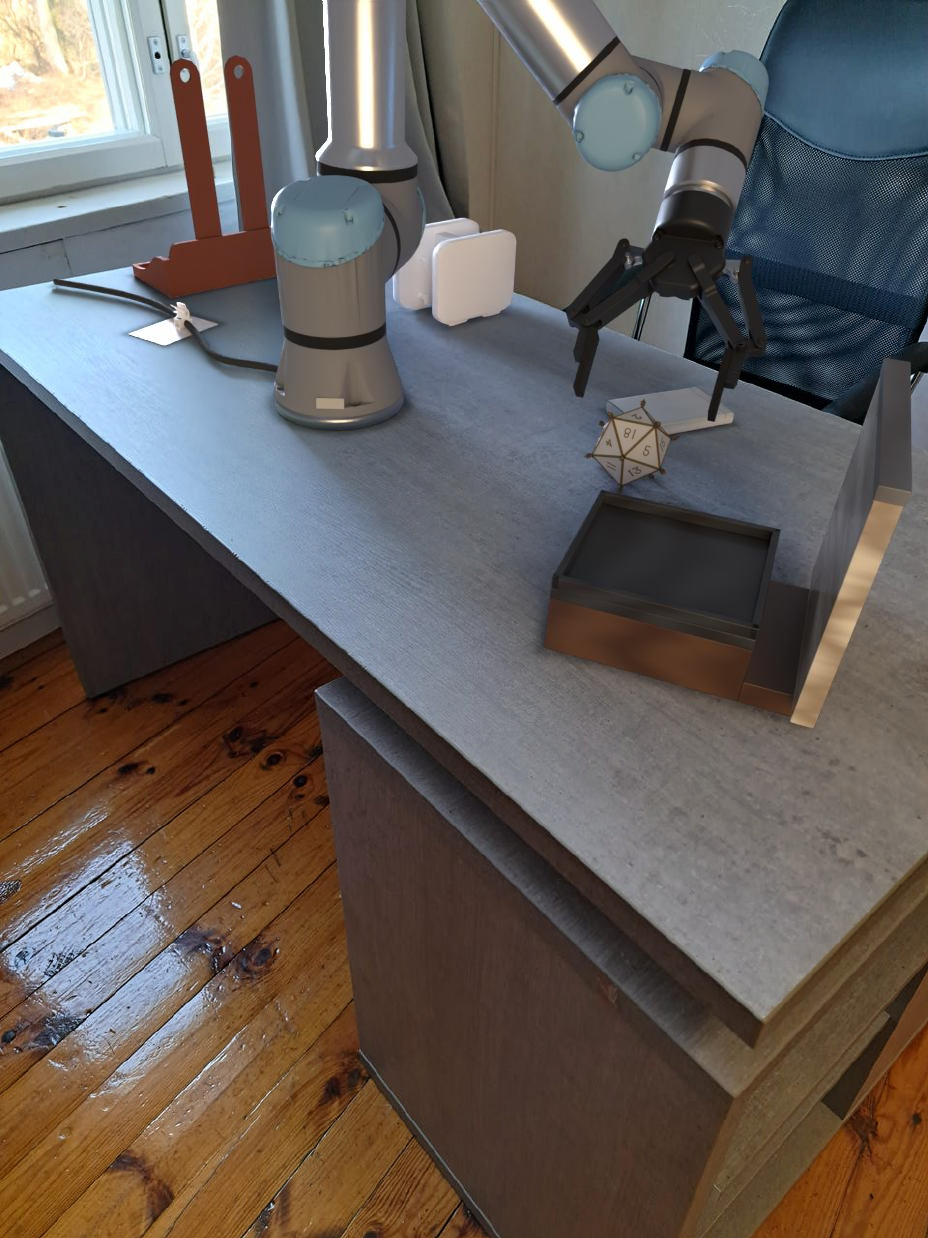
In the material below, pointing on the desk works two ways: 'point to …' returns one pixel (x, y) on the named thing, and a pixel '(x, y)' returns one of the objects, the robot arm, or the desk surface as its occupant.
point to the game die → (631, 446)
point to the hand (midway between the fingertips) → (643, 404)
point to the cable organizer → (458, 272)
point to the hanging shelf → (211, 252)
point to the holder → (735, 581)
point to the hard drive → (674, 409)
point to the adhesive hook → (173, 327)
